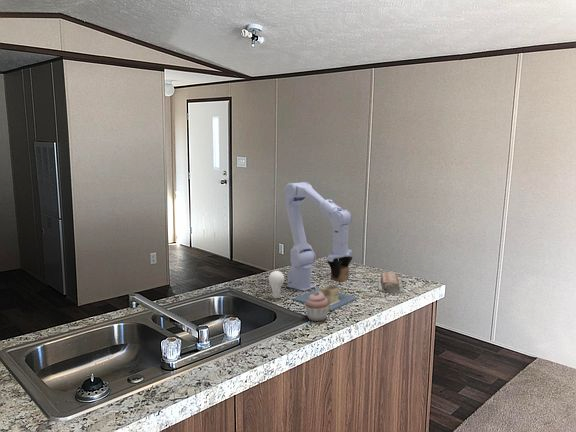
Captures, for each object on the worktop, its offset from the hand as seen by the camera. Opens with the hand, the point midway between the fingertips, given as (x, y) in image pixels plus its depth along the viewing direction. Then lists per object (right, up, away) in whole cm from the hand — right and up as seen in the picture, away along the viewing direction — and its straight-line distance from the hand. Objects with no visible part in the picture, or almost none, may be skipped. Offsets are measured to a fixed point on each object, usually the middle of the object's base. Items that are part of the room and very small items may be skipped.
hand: (339, 276), depth 185 cm
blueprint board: (-5, -9, +1) cm, 11 cm away
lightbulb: (-24, -9, +1) cm, 26 cm away
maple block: (-4, -9, -3) cm, 10 cm away
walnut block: (0, -2, 0) cm, 2 cm away
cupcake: (-10, -13, -18) cm, 24 cm away
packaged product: (+24, -7, +20) cm, 32 cm away
